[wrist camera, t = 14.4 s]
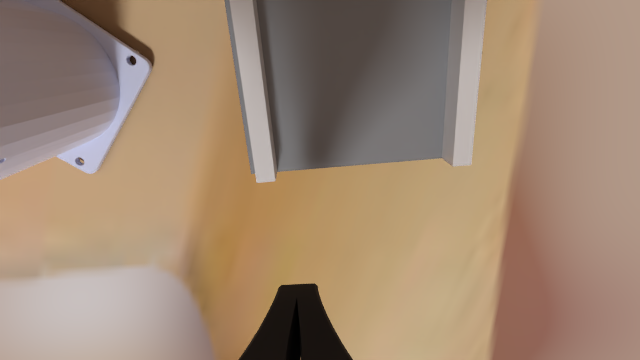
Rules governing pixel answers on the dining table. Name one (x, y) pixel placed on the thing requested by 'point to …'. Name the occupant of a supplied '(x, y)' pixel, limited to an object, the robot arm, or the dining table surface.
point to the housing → (356, 81)
